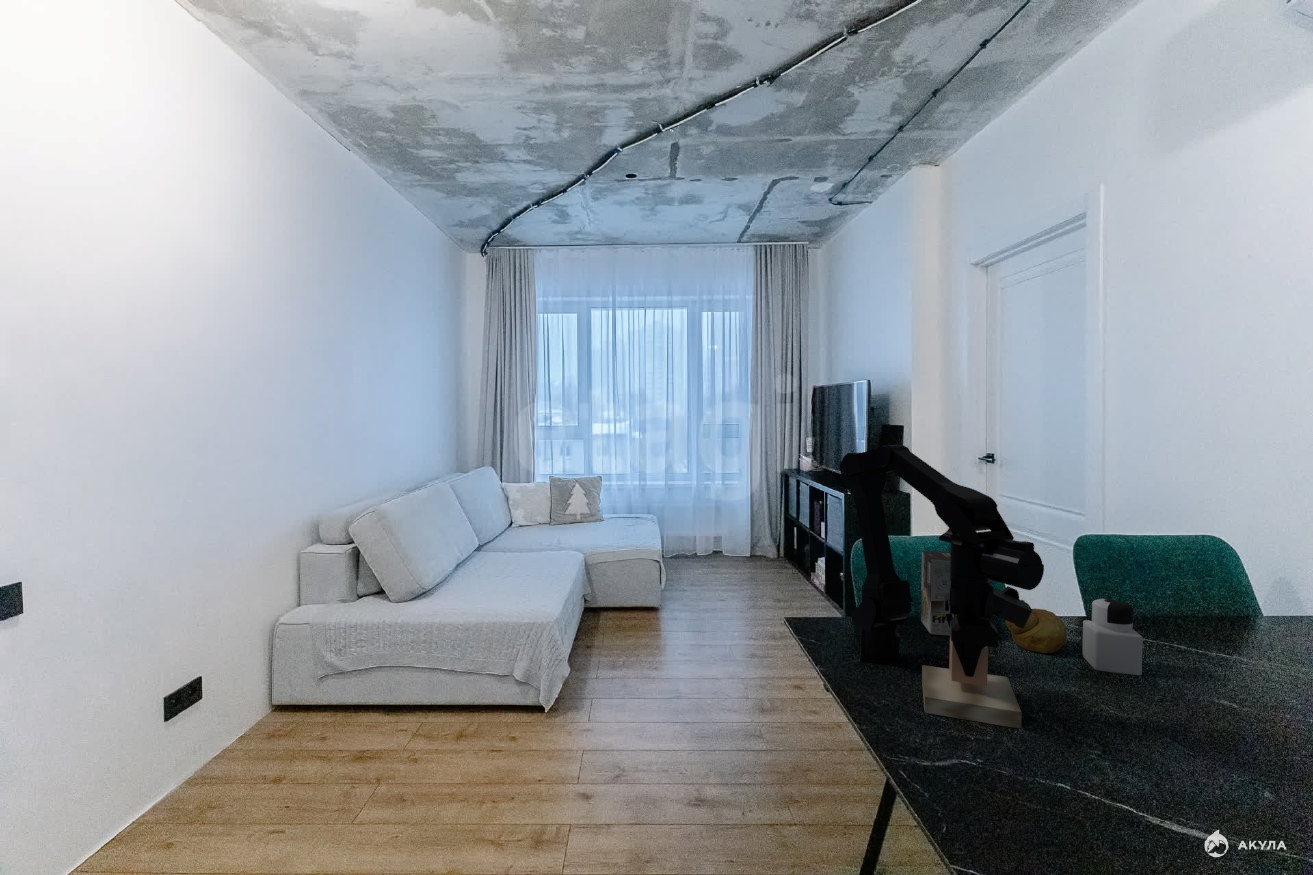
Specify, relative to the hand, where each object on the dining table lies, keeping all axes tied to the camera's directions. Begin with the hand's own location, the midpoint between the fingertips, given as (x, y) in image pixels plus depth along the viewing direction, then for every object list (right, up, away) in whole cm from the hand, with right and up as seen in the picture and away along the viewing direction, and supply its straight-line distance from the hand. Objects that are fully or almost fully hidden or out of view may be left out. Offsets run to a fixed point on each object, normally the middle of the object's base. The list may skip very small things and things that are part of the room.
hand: (967, 669), depth 98 cm
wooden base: (0, -5, 0) cm, 5 cm away
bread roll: (+27, -5, +25) cm, 37 cm away
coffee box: (+12, -4, +34) cm, 36 cm away
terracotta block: (0, -1, 0) cm, 1 cm away
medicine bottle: (+34, -5, +15) cm, 37 cm away
